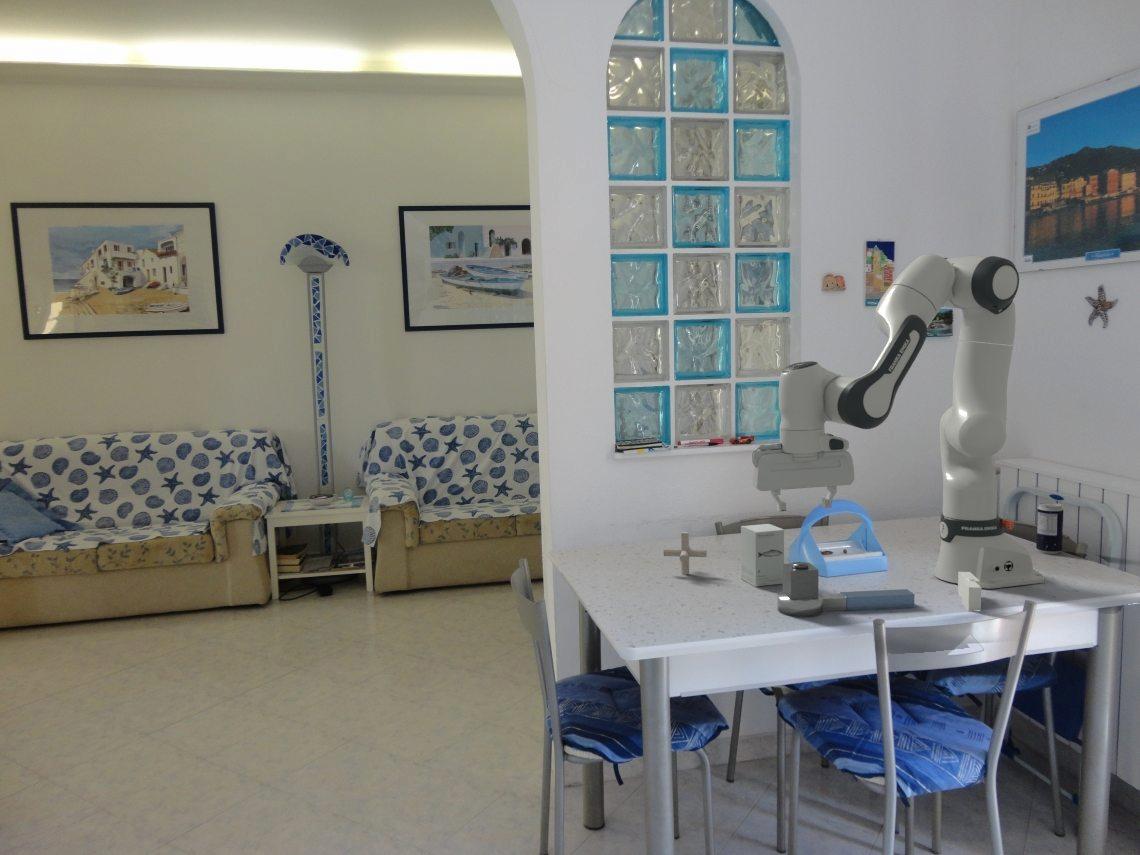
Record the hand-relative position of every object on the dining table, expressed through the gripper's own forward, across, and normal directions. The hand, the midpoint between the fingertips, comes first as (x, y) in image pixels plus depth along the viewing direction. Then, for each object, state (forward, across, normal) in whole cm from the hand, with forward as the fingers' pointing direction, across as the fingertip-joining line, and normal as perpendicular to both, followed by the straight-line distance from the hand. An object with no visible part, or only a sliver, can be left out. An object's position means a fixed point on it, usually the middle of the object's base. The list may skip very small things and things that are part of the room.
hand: (804, 509), depth 179 cm
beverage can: (+22, +72, +32) cm, 82 cm away
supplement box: (+20, -4, +18) cm, 28 cm away
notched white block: (+22, +32, -3) cm, 39 cm away
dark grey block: (+17, -2, -2) cm, 18 cm away
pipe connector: (+20, -20, +28) cm, 39 cm away
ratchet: (+20, +7, -3) cm, 22 cm away
